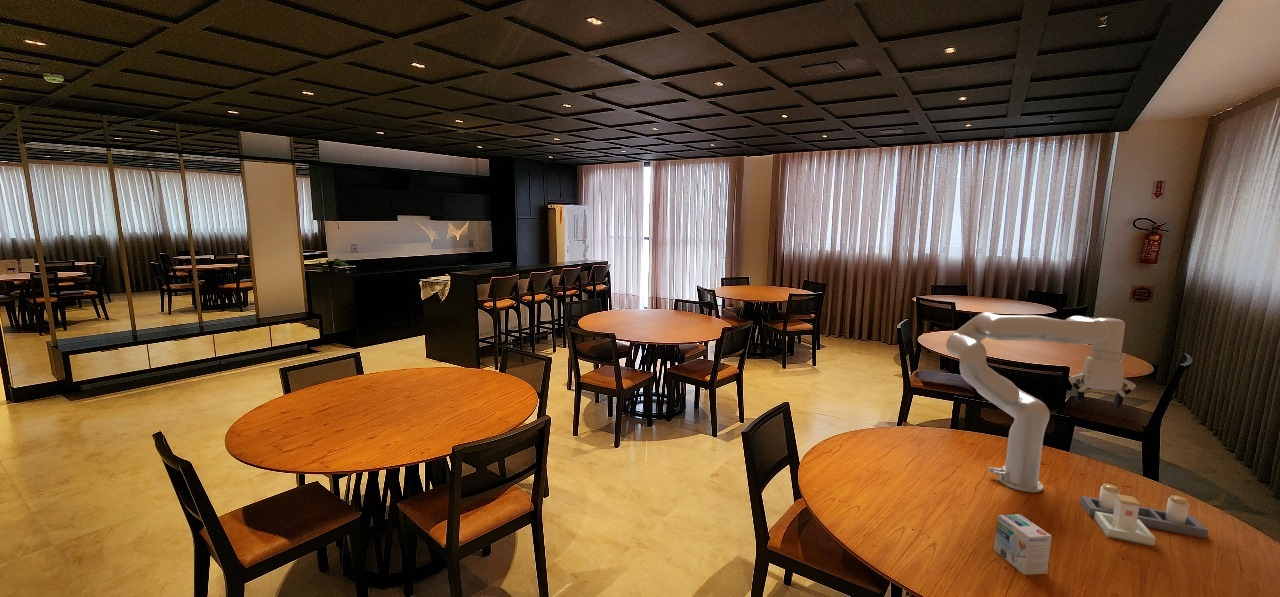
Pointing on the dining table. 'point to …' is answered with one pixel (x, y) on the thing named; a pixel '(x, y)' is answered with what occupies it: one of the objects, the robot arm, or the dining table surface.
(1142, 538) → the tray
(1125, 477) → the dining table surface
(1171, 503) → the post
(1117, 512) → the block
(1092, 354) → the robot arm
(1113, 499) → the post
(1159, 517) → the holder
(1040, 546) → the light bulb box
